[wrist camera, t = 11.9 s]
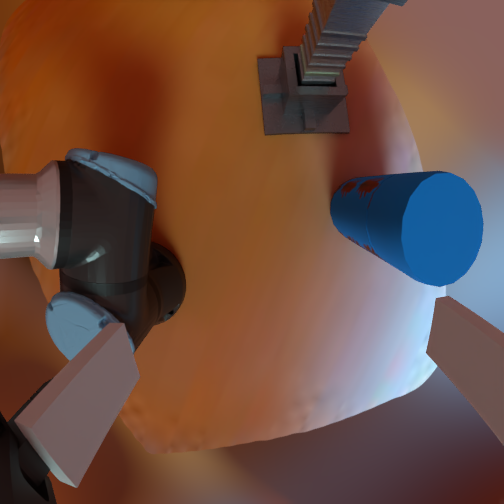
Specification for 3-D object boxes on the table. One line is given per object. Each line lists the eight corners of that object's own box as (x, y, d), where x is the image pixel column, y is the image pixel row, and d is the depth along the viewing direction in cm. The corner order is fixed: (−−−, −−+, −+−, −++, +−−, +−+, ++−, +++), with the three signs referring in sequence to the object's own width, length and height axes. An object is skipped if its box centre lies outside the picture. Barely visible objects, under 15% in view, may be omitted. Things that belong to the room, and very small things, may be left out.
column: (296, 91, 33) (337, -15, 11) (291, 59, 32) (321, -55, 10) (333, 91, 33) (407, -1, 11) (327, 59, 32) (386, -43, 10)
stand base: (264, 135, 43) (266, 114, 31) (257, 61, 40) (256, 22, 28) (348, 133, 43) (377, 115, 30) (337, 61, 40) (359, 26, 27)
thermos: (357, 164, 44) (444, 145, 19) (398, 207, 45) (497, 227, 21) (316, 211, 46) (375, 236, 21) (359, 253, 47) (439, 309, 22)
